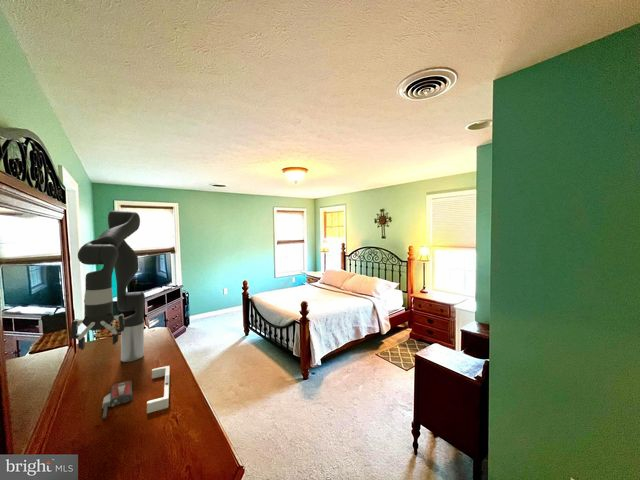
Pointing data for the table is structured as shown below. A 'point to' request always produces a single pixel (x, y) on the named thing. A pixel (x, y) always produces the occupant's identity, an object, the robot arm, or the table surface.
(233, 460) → the table surface
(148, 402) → the white c-shaped bracket
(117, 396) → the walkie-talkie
